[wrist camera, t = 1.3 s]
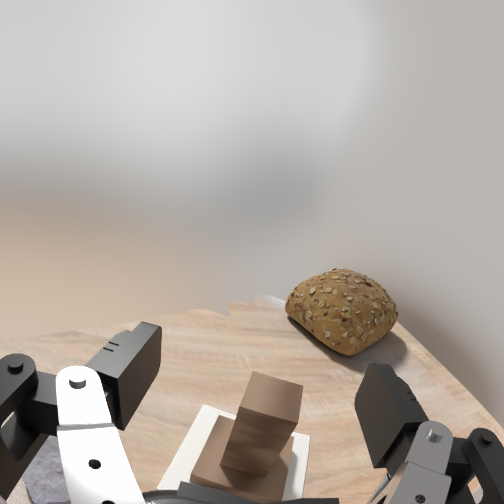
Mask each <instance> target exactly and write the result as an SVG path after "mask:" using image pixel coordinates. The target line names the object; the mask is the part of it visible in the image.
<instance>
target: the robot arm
mask: <svg viewBox="0 0 504 504" xmlns="http://www.w3.org/2000/svg"><path fill="white" fill-rule="evenodd" d="M161 340H162V328H161V326H157V325H154V324H150V323H146V322H141V323H140V324H139V325H138V326H137V327H136V328H135V329H134V330H133V331H128V330H126V331H123V332H121V333H118V334H116V335H115V336H114V337H113V338H112V339H111V340H110V341H109V343H107V344H106V345H105V346H104V347H103V349H101V350H100V351H99V352H98V353H97V354H96V355H95V356H94V357H93V358H92V359H91V360H90V361H89V362H88V363H87V364H86V365H85V366H84V367H83V366H71V367H67V368H65V369H63V370H61V371H60V372H59V373H58V374H57V375H53V374H48V373H43V372H39V371H37V370H36V366H35V362H34V361H33V359H32V358H30V357H29V356H27V355H24V354H10V355H7V356H5V357H3V358H2V359H1V360H0V504H7V503H6V500H7V498H8V497H9V495H10V494H11V492H12V490H13V489H14V487H15V486H16V484H17V483H18V481H19V480H20V478H21V477H22V475H23V473H24V472H25V470H26V469H27V467H28V466H29V464H30V463H31V462H32V460H33V459H34V457H35V456H36V454H37V453H38V451H39V450H40V448H41V447H42V445H43V444H44V443H45V441H46V440H47V438H48V437H49V436H50V435H51V436H56V437H58V442H59V449H60V455H61V460H62V465H63V471H64V475H65V480H66V484H67V488H68V492H69V496H70V500H71V504H339V498H300V499H294V500H287V501H280V502H272V503H258V502H254V501H251V500H248V499H245V498H242V497H239V496H237V495H234V494H231V493H228V492H226V491H223V490H220V489H215V488H210V487H205V486H200V485H196V484H192V483H188V482H183V481H180V485H179V488H178V490H155V491H149V492H143V493H141V492H140V489H139V487H138V485H137V483H136V480H135V478H134V476H133V473H132V471H131V468H130V466H129V464H128V461H127V458H126V456H125V453H124V451H123V448H122V445H121V442H120V439H119V437H118V434H117V431H116V428H117V429H120V430H122V431H124V430H125V428H126V426H127V425H128V423H129V421H130V419H131V418H132V416H133V414H134V413H135V411H136V409H137V408H138V406H139V404H140V403H141V401H142V399H143V397H144V396H145V394H146V392H147V391H148V389H149V387H150V386H151V384H152V382H153V381H154V379H155V377H156V376H157V374H158V371H159V367H160V362H161ZM412 393H413V392H412V391H411V389H410V387H409V386H408V384H407V383H406V382H404V381H403V380H402V379H401V378H400V377H397V375H396V374H395V372H394V370H393V369H392V367H391V366H390V365H389V364H377V363H371V364H370V365H369V367H368V369H367V371H366V373H365V376H364V378H363V380H362V383H361V385H360V387H359V389H358V392H357V394H356V397H355V410H356V413H357V416H358V419H359V422H360V425H361V429H362V432H363V435H364V438H365V441H366V444H367V448H368V451H369V454H370V457H371V461H372V464H373V467H374V468H387V472H386V473H385V475H384V476H383V477H382V479H381V481H380V483H379V484H378V486H377V488H376V489H375V491H374V493H373V494H372V496H371V498H370V499H369V501H368V502H367V504H475V501H474V499H473V496H472V494H471V492H470V489H469V487H468V485H467V484H468V483H469V482H470V481H471V480H472V479H473V478H474V477H475V476H476V477H477V479H478V481H479V483H480V485H481V487H482V489H483V497H482V500H481V502H480V503H479V504H504V447H503V445H502V444H501V442H500V441H499V439H498V438H497V436H496V435H495V434H494V433H493V432H491V431H490V430H488V429H485V428H476V429H474V430H473V431H472V432H471V434H470V435H469V437H468V438H467V439H465V438H456V437H453V435H452V433H451V431H450V430H449V429H448V428H447V427H446V426H445V425H443V424H441V423H439V422H436V421H429V419H428V417H427V416H426V414H425V412H424V410H423V409H422V407H421V405H420V404H419V402H418V401H416V397H415V396H414V394H412ZM12 412H14V414H13V415H12V417H11V418H10V419H9V420H8V421H7V422H6V423H5V425H4V426H3V427H2V428H1V426H2V423H3V422H4V421H5V420H6V418H7V417H8V416H9V415H10V414H11V413H12Z"/></svg>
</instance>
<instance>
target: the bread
mask: <svg viewBox="0 0 504 504" xmlns="http://www.w3.org/2000/svg"><path fill="white" fill-rule="evenodd" d="M285 311H286V312H287V314H288V315H289V316H290V317H292V318H293V319H294V320H296V321H297V322H298V323H299V324H300V325H301V326H303V327H304V328H305V329H306V330H308V331H309V332H310V333H311V334H313V335H314V336H315V337H316V338H317V339H318V340H320V341H321V342H322V343H324V344H325V345H327V346H328V347H330V348H331V349H333V350H335V351H337V352H339V353H340V354H343V355H347V356H351V355H355V354H356V353H359V352H361V351H362V350H364V349H366V348H367V347H369V346H370V345H372V344H374V343H375V342H377V341H379V340H380V339H381V338H382V337H383V336H384V335H385V334H387V333H388V331H390V330H391V329H392V327H393V326H394V324H395V323H396V321H397V317H398V310H396V304H395V303H394V302H393V301H392V299H391V297H389V295H388V294H387V293H386V290H385V289H384V288H382V287H381V286H380V285H379V283H377V282H375V281H374V280H371V278H368V277H367V276H366V275H361V274H360V273H358V272H354V271H351V270H347V269H338V270H337V269H333V270H332V271H328V272H324V273H323V274H318V275H316V276H314V277H312V278H309V279H308V280H305V281H303V282H301V283H300V284H299V285H297V286H296V287H295V289H294V290H293V292H291V294H290V295H289V297H288V299H287V301H286V303H285Z"/></svg>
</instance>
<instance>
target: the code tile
mask: <svg viewBox="0 0 504 504" xmlns="http://www.w3.org/2000/svg"><path fill="white" fill-rule="evenodd" d="M218 415H221V416H224V417H227V418H230V419H233V420H235V419H236V415H233V414H230V413H227V412H224V411H221V410H218V409H215V408H213V407H210V406H207V405H205V404H203V406H202V408H201V410H200V412H199V414H198V416H197V417H196V419H195V421H194V423H193V425H192V426H191V428H190V430H189V432H188V434H187V436H186V437H185V439H184V441H183V443H182V445H181V446H180V448H179V450H178V452H177V454H176V455H175V457H174V459H173V461H172V462H171V464H170V466H169V468H168V469H167V471H166V473H165V475H164V476H163V478H162V480H161V482H160V483H159V485H158V487H157V490H178V488H179V485H180V481H183V482H188V483H192V484H196V483H193V482H190V481H189V480H190V475H191V472H192V470H193V468H194V466H195V464H196V462H197V460H198V458H199V456H200V454H201V451H202V449H203V447H204V445H205V443H206V441H207V439H208V437H209V435H210V433H211V430H212V428H213V426H214V424H215V422H216V420H217V418H218ZM291 436H293V437H294V441H293V447H292V453H291V458H290V463H289V469H288V474H287V479H286V484H285V488H284V493H283V498H282V501H287V500H294V499H300V498H302V493H303V486H304V480H305V473H306V466H307V458H308V451H309V442H310V436H309V435H305V434H300V433H296V432H292V434H291ZM196 485H198V484H196ZM200 486H201V485H200Z"/></svg>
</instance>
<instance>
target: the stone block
mask: <svg viewBox="0 0 504 504" xmlns="http://www.w3.org/2000/svg"><path fill="white" fill-rule="evenodd" d="M22 477H23V480H24V482H25V484H26V485H27V486H26V488H27V490H28V491H29V494H30V496H31V499H32V502H33V503H34V504H71V500H70V496H69V492H68V488H67V484H66V480H65V475H64V471H63V465H62V460H61V455H60V449H59V442H58V437H56V436H51V435H50V436H49V437H48V438H47V440H46V441H45V443H44V444H43V445H42V447H41V448H40V450H39V451H38V453H37V454H36V456H35V457H34V459H33V460H32V462H31V463H30V464H29V466H28V467H27V469H26V470H25V472H24V473H23V475H22Z"/></svg>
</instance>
